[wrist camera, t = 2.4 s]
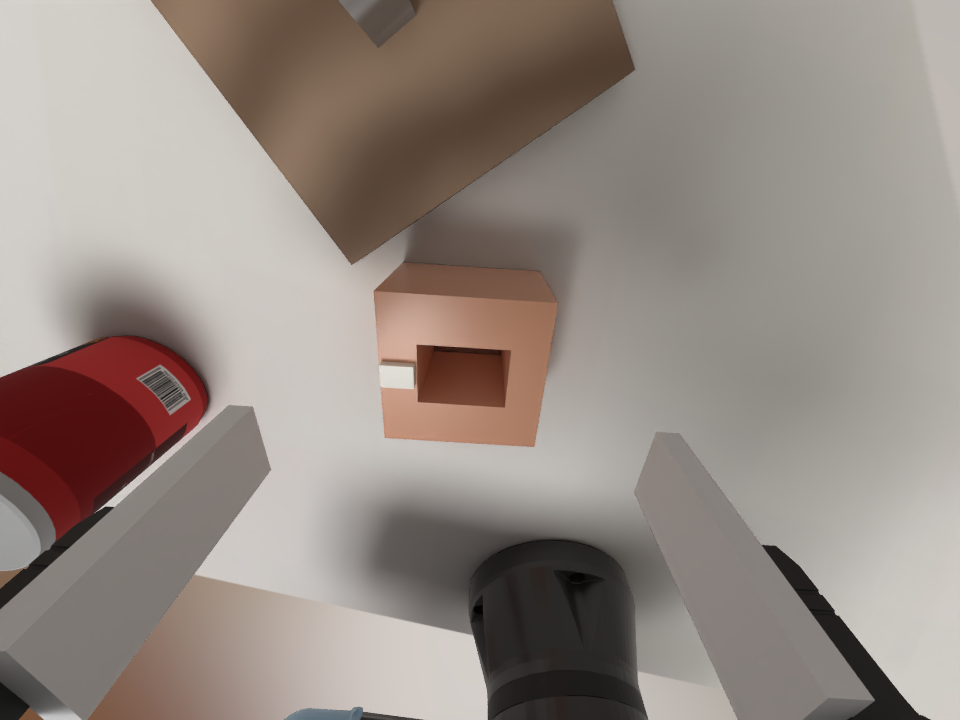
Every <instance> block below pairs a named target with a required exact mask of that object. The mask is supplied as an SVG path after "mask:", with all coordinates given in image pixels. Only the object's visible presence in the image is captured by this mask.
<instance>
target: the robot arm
mask: <svg viewBox="0 0 960 720" xmlns="http://www.w3.org/2000/svg"><path fill="white" fill-rule="evenodd" d="M270 470H271V468H270V465H269V461H268V458H267V454H266V451H265V447H264V444H263V440H262V437H261V433H260V430H259V427H258V423H257V420H256V416H255V413H254V409H253V407H249V406H233V405H229V406H228V407H226V408H225V409H224V410H223V411H222V412H221V413H220V414H219V415H217V416H216V417H215V418H214V419H213V420H212V421H211V422H210V423H209V424H207V425H206V426H205V427H204V428H203V429H202V430H201V431H200V432H198V433H197V434H196V435H195V436H194V437H193V438H192V439H191V440H189V441H188V442H187V443H186V444H185V445H184V446H183V447H182V448H181V449H179V450H178V451H177V452H176V453H175V454H174V455H173V456H172V457H170V458H169V459H168V460H167V461H166V462H165V463H164V464H163V465H161V466H160V467H159V468H158V469H157V470H156V471H155V472H154V473H153V474H151V475H150V476H149V477H148V478H147V479H146V480H145V481H144V482H142V483H141V484H140V485H139V486H138V487H137V488H136V489H135V490H133V491H132V492H131V493H130V494H129V495H128V496H127V497H126V498H125V499H123V500H122V501H121V502H120V503H119V504H118V505H117V506H116V507H104V508H103V509H101V510H99V511H98V512H96V513H94V514H93V515H91V516H89V517H87V518H86V519H84V520H82V521H81V522H79V523H77V524H76V525H75V526H73V527H72V528H71V529H70V530H69V531H68V532H66V533H65V534H64V535H63V536H62V537H61V538H59V539H58V540H57V541H56V542H55V543H53V544H52V545H51V548H50V549H49V550H45V551H44V552H43V553H42V554H41V555H39V556H38V557H37V558H36V559H35V560H33V561H32V562H31V563H30V564H29V567H28V568H27V569H23V570H22V571H21V572H19V573H18V574H17V575H16V576H15V577H14V578H12V579H11V580H10V581H9V582H8V583H6V584H5V585H4V586H3V587H2V588H1V589H0V720H19V719H20V717H21V716H22V715H23V714H24V713H25V712H26V710H27V709H28V708H31V709H32V710H33V711H34V712H36V713H37V714H38V715H39V716H41V717H42V718H43V719H44V720H87V719H88V718H89V717H90V715H91V714H92V713H93V711H94V710H95V708H96V707H97V706H98V704H99V703H100V702H101V700H102V699H103V697H104V696H105V695H106V693H107V692H108V691H109V689H110V688H111V687H112V685H113V684H114V683H115V681H116V680H117V678H118V677H119V676H120V674H121V673H122V672H123V670H124V669H125V668H126V666H127V665H128V664H129V662H130V661H131V660H132V658H133V657H134V655H135V654H136V653H137V651H138V650H139V649H140V647H141V646H142V645H143V643H144V642H145V640H146V639H147V638H148V636H149V635H150V634H151V632H152V631H153V630H154V628H155V627H156V626H157V624H158V623H159V621H160V620H161V619H162V617H163V616H164V615H165V613H166V612H167V610H168V609H169V608H170V606H171V605H172V604H173V602H174V601H175V600H176V598H177V597H178V596H179V594H180V593H181V591H182V590H183V589H184V587H185V586H186V585H187V583H188V582H189V581H190V579H191V578H192V576H193V575H194V574H195V572H196V571H197V570H198V568H199V567H200V566H201V564H202V563H203V562H204V560H205V559H206V557H207V556H208V555H209V553H210V552H211V551H212V549H213V548H214V547H215V545H216V544H217V543H218V541H219V540H220V538H221V537H222V536H223V534H224V533H225V532H226V530H227V529H228V528H229V526H230V525H231V523H232V522H233V521H234V519H235V518H236V517H237V515H238V514H239V513H240V511H241V510H242V509H243V507H244V506H245V504H246V503H247V502H248V500H249V499H250V498H251V496H252V495H253V494H254V492H255V491H256V489H257V488H258V487H259V485H260V484H261V483H262V481H263V480H264V479H265V477H266V476H267V474H268V473H269V472H270ZM634 493H635V495H636V497H637V499H638V502H639V504H640V506H641V508H642V510H643V513H644V515H645V517H646V519H647V521H648V524H649V526H650V528H651V530H652V532H653V535H654V537H655V539H656V541H657V543H658V546H659V548H660V550H661V552H662V554H663V557H664V559H665V561H666V563H667V565H668V568H669V570H670V572H671V574H672V576H673V579H674V581H675V583H676V585H677V587H678V589H679V592H680V594H681V596H682V598H683V600H684V603H685V605H686V607H687V609H688V611H689V614H690V616H691V618H692V620H693V622H694V625H695V627H696V629H697V631H698V633H699V636H700V638H701V640H702V642H703V644H704V647H705V649H706V651H707V653H708V655H709V658H710V660H711V662H712V664H713V666H714V669H715V671H716V673H717V675H718V677H719V679H720V682H721V684H722V686H723V688H724V690H725V693H726V695H727V697H728V699H729V701H730V704H731V706H732V708H733V710H734V712H735V715H736V717H737V719H738V720H930V719H928V718H926V717H924V716H921V715H919V714H918V713H917V712H916V711H915V710H914V709H913V708H912V707H911V706H910V704H909V703H908V702H907V701H906V700H905V699H904V698H903V696H902V695H901V694H900V693H899V691H898V690H897V689H896V687H895V686H894V685H893V684H892V682H891V681H890V680H889V679H888V677H887V676H886V675H885V674H884V672H883V671H882V670H881V669H880V667H879V666H878V665H877V663H876V662H875V661H874V660H873V658H872V657H871V656H870V655H869V653H868V652H867V651H866V650H865V648H864V647H863V646H862V644H861V643H860V642H859V641H858V639H857V638H856V637H855V636H854V634H853V633H852V632H851V631H850V629H849V628H848V627H847V626H846V624H845V623H844V622H843V620H842V619H841V618H840V617H839V616H837V615H835V612H834V611H835V610H834V609H833V608H832V607H831V605H830V604H829V603H828V601H827V600H826V599H825V598H824V596H823V595H820V594H819V592H818V591H819V590H818V589H817V588H816V586H815V585H814V584H813V583H812V581H811V580H810V579H809V577H808V576H807V575H806V574H805V572H804V571H803V570H802V569H801V567H800V566H799V565H797V564H796V563H795V562H794V561H793V560H792V559H790V558H789V557H788V556H787V555H786V554H785V553H783V552H782V551H781V550H780V549H779V548H778V547H776V546H768V545H761V544H760V543H759V541H758V540H757V539H756V537H755V536H754V534H753V533H752V532H751V530H750V529H749V528H748V526H747V525H746V523H745V522H744V521H743V519H742V518H741V517H740V515H739V514H738V513H737V511H736V510H735V508H734V507H733V506H732V504H731V503H730V502H729V500H728V499H727V498H726V496H725V495H724V493H723V492H722V491H721V489H720V488H719V487H718V485H717V484H716V483H715V481H714V480H713V478H712V477H711V476H710V474H709V473H708V472H707V470H706V469H705V468H704V466H703V465H702V463H701V462H700V461H699V459H698V458H697V457H696V455H695V454H694V453H693V451H692V450H691V448H690V447H689V446H688V444H687V443H686V442H685V440H684V439H683V438H682V436H681V435H680V434H677V433H661V432H656V435H655V437H654V440H653V443H652V445H651V448H650V451H649V454H648V456H647V459H646V462H645V464H644V467H643V470H642V472H641V475H640V478H639V481H638V483H637V486H636V489H635V491H634ZM469 618H470V623H471V627H472V631H473V635H474V639H475V643H476V647H477V651H478V655H479V659H480V663H481V667H482V671H483V675H484V679H485V683H486V687H487V694H488V720H648V717H647V714H646V710H645V707H644V704H643V700H642V697H641V693H640V690H639V686H638V677H637V653H636V629H635V607H634V601H633V597H632V594H631V591H630V588H629V585H628V582H627V579H626V576H625V574H624V572H623V570H622V568H621V567H620V566H619V564H618V563H617V562H616V561H615V560H614V559H612V558H611V557H610V556H608V555H607V554H605V553H603V552H602V551H600V550H597V549H595V548H592V547H590V546H586V545H583V544H579V543H574V542H566V541H538V542H531V543H526V544H521V545H518V546H514V547H511V548H509V549H506V550H504V551H502V552H499V553H498V554H496V555H494V556H492V557H491V558H489V559H488V560H487V561H485V562H484V563H483V564H482V565H481V566H480V567H479V568H478V570H477V571H476V572H475V574H474V576H473V578H472V580H471V583H470V593H469ZM285 720H420V719H413V718H406V717H398V716H390V715H383V714H375V713H368V712H363V708H361V707H354V708H353V709H352V710H351V711H346V710H327V709H311V708H308V709H303V710H299V711H297V712H295V713H293V714H291V715H290V716H288V717H287V718H286V719H285Z"/></svg>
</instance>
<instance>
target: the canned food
mask: <svg viewBox="0 0 960 720" xmlns="http://www.w3.org/2000/svg"><path fill="white" fill-rule="evenodd" d="M206 407H207V394H206V390H205V387H204V385H203V383H202V381H201V379H200V377H199V376H198V375H197V373H196V372H195V371H194V370H193V368H192V367H191V366H190V365H189V364H188V363H187V362H186V361H185V360H184V359H182V358H181V357H180V356H178V355H177V354H176V353H174V352H173V351H171V350H170V349H168V348H166V347H164V346H163V345H161V344H158V343H156V342H153V341H151V340H148V339H144V338H141V337H135V336H114V337H105V338H100V339H96V340H93V341H90V342H88V343H85V344H83V345H80V346H78V347H76V348H73V349H71V350H68V351H66V352H63V353H61V354H58V355H56V356H53V357H51V358H48V359H46V360H43V361H41V362H38V363H36V364H33V365H31V366H28V367H26V368H23V369H21V370H18V371H16V372H13V373H11V374H8V375H6V376H3V377H1V378H0V571H10V570H15V569H21V568H24V567H26V566H28V565H29V564H30V563H31V562H32V561H33V560H35V559H36V558H37V557H38V556H39V555H41V554H42V553H43V552H44V551H45V550H49V549H50V548H51V545H52V544H53V543H55V542H56V541H57V540H58V539H59V538H61V537H62V536H63V535H64V534H65V533H66V532H68V531H69V530H70V529H71V528H72V527H73V526H75V525H76V524H77V523H79V522H81V521H82V520H84V519H86V518H87V517H89V516H91V515H93V514H94V513H95V512H96V511H97V510H99V509H100V508H101V507H102V506H103V505H105V504H106V503H107V502H108V501H109V500H110V499H112V498H113V497H114V496H115V495H116V494H117V493H119V492H120V491H121V490H122V489H123V488H124V487H126V486H127V485H128V484H129V483H130V482H131V481H133V480H134V479H135V478H136V477H137V476H138V475H140V474H141V473H142V472H143V471H144V470H145V469H147V468H148V467H149V466H150V465H151V464H153V463H154V462H155V461H156V460H157V459H158V458H160V457H161V456H162V455H163V454H164V453H165V452H167V451H168V450H169V449H170V448H171V447H172V446H174V445H175V444H176V443H177V442H178V441H179V440H181V439H182V438H183V437H184V436H185V435H186V434H188V433H189V432H190V431H191V430H192V429H193V428H194V427H196V426H197V425H198V423H199V421H200V420H201V418H202V416H203V414H204V412H205V411H206Z"/></svg>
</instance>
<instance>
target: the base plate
mask: <svg viewBox="0 0 960 720" xmlns="http://www.w3.org/2000/svg"><path fill="white" fill-rule="evenodd" d="M151 1H152V3H153V4H154V5H155V7H156V8H157V9H158V10H159V12H160V13H161V14H162V16H163V17H164V18H165V20H166V21H167V22H168V24H169V25H170V26H171V28H172V29H173V30H174V32H175V33H176V34H177V35H178V37H179V38H180V39H181V41H182V42H183V43H184V45H185V46H186V47H187V49H188V50H189V51H190V53H191V54H192V55H193V57H194V58H195V59H196V60H197V62H198V63H199V64H200V66H201V67H202V68H203V70H204V71H205V72H206V74H207V75H208V76H209V78H210V79H211V80H212V82H213V83H214V84H215V86H216V87H217V88H218V89H219V91H220V92H221V93H222V95H223V96H224V97H225V99H226V100H227V101H228V103H229V104H230V105H231V107H232V108H233V109H234V111H235V112H236V113H237V114H238V116H239V117H240V118H241V120H242V121H243V122H244V124H245V125H246V126H247V128H248V129H249V130H250V132H251V133H252V134H253V136H254V137H255V138H256V139H257V141H258V142H259V143H260V145H261V146H262V147H263V149H264V150H265V151H266V153H267V154H268V155H269V157H270V158H271V159H272V161H273V162H274V163H275V164H276V166H277V167H278V168H279V170H280V171H281V172H282V174H283V175H284V176H285V178H286V179H287V180H288V182H289V183H290V184H291V186H292V187H293V188H294V190H295V191H296V192H297V193H298V195H299V196H300V197H301V199H302V200H303V201H304V203H305V204H306V205H307V207H308V208H309V209H310V211H311V212H312V213H313V215H314V216H315V217H316V218H317V220H318V221H319V222H320V224H321V225H322V226H323V228H324V229H325V230H326V232H327V233H328V234H329V236H330V237H331V238H332V240H333V241H334V242H335V243H336V245H337V246H338V247H339V249H340V250H341V251H342V253H343V254H344V255H345V257H346V258H347V259H348V261H349V262H350V263H351V265H352V264H354V263H355V262H357V261H359V260H360V259H362V258H363V257H365V256H366V255H367V254H369V253H370V252H372V251H373V250H375V249H376V248H378V247H379V246H381V245H382V244H383V243H385V242H386V241H388V240H389V239H391V238H392V237H394V236H395V235H397V234H398V233H399V232H401V231H402V230H404V229H405V228H407V227H408V226H410V225H411V224H413V223H414V222H415V221H417V220H418V219H420V218H421V217H423V216H424V215H426V214H427V213H428V212H430V211H431V210H433V209H434V208H436V207H437V206H439V205H440V204H442V203H443V202H444V201H446V200H447V199H449V198H450V197H452V196H453V195H455V194H456V193H458V192H459V191H460V190H462V189H463V188H465V187H466V186H468V185H469V184H471V183H472V182H474V181H475V180H476V179H478V178H479V177H481V176H482V175H484V174H485V173H487V172H488V171H489V170H491V169H492V168H494V167H495V166H497V165H498V164H500V163H501V162H503V161H504V160H505V159H507V158H508V157H510V156H511V155H513V154H514V153H516V152H517V151H519V150H520V149H521V148H523V147H524V146H526V145H527V144H529V143H530V142H532V141H533V140H535V139H536V138H537V137H539V136H540V135H542V134H543V133H545V132H546V131H548V130H549V129H550V128H552V127H553V126H555V125H556V124H558V123H559V122H561V121H562V120H564V119H565V118H566V117H568V116H569V115H571V114H572V113H574V112H575V111H577V110H578V109H580V108H581V107H582V106H584V105H585V104H587V103H588V102H590V101H591V100H593V99H594V98H595V97H597V96H598V95H600V94H601V93H603V92H604V91H606V90H607V89H609V88H610V87H611V86H613V85H614V84H616V83H617V82H619V81H620V80H622V79H623V78H624V77H626V76H627V75H628V74H630V73H631V72H632V71H634V70H635V68H634V65H633V62H632V59H631V56H630V53H629V50H628V47H627V44H626V41H625V38H624V35H623V32H622V29H621V26H620V23H619V20H618V17H617V14H616V11H615V8H614V5H613V2H612V0H151Z"/></svg>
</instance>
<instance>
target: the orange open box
mask: <svg viewBox="0 0 960 720" xmlns="http://www.w3.org/2000/svg"><path fill="white" fill-rule="evenodd" d="M374 302H375V315H376V328H377V342H378V355H379V375H380V387H381V395H382V408H383V421H384V434H385V438H396V439H412V440H429V441H445V442H462V443H478V444H495V445H511V446H527V447H534V445H535V439H536V434H537V428H538V422H539V416H540V410H541V404H542V398H543V392H544V386H545V380H546V374H547V368H548V362H549V356H550V350H551V344H552V338H553V332H554V326H555V320H556V314H557V308H558V302H557V300H556V298H555V297H554V295H553V293H552V291H551V290H550V288H549V286H548V284H547V283H546V281H545V279H544V277H543V276H542V274H541V272H540V271H526V270H511V269H496V268H481V267H466V266H451V265H436V264H420V263H405V262H403V263H402V264H401V265H400V266H399V267H398V268H397V269H396V270H395V271H394V272H393V273H392V274H391V275H390V276H389V277H388V278H387V279H386V280H385V281H384V282H383V283H382V284H380V285H379V286H378V287H377V288H376V289H375V290H374ZM434 346H449V347H465V348H481V349H496V350H501V355H488V354H472V353H457V352H441V351H434Z"/></svg>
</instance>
